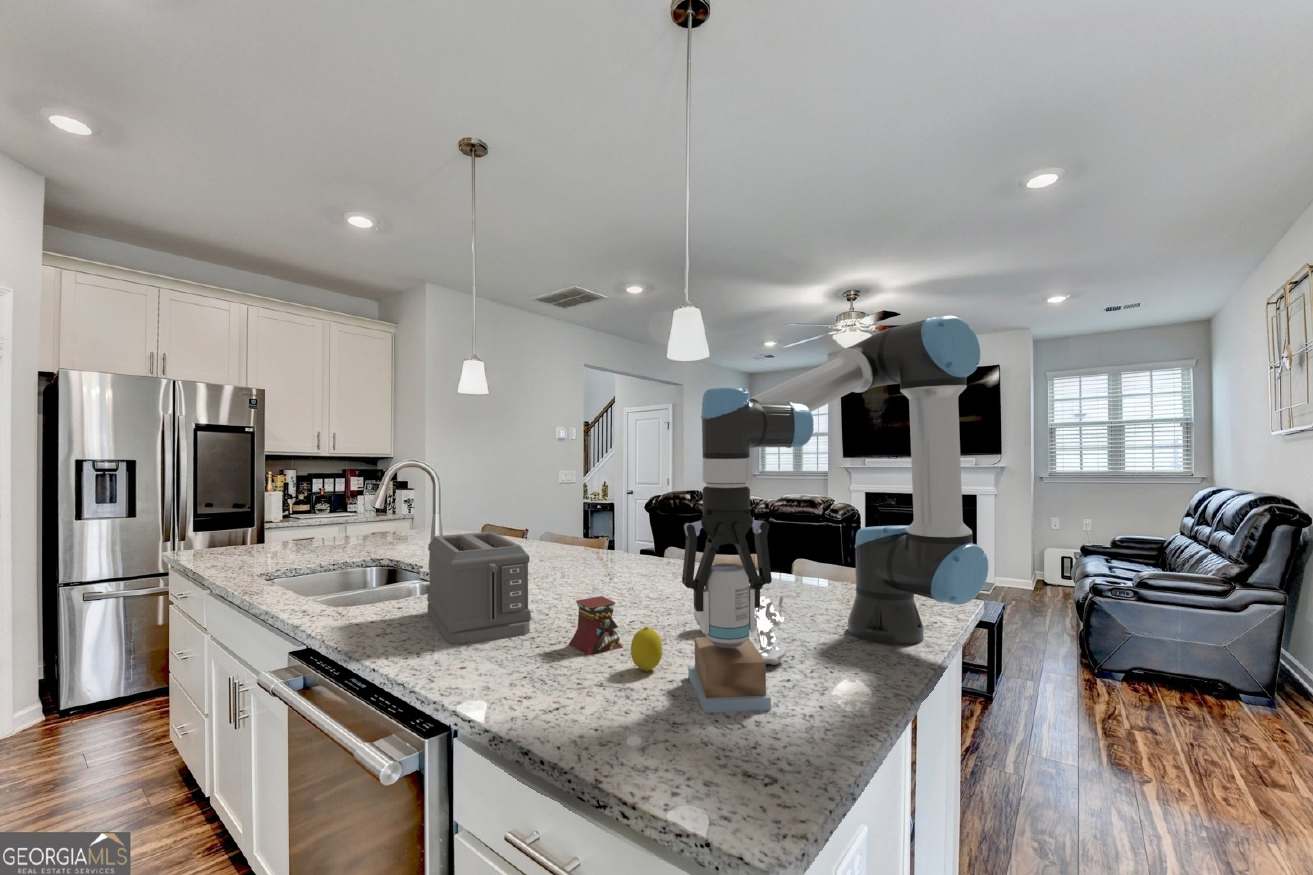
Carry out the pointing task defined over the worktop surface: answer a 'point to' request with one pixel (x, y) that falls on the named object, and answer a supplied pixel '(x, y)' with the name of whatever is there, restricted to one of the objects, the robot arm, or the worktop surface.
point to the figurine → (769, 631)
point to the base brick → (726, 699)
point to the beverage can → (728, 605)
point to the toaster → (478, 587)
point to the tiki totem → (595, 627)
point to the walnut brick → (730, 669)
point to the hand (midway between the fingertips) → (727, 629)
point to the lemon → (646, 649)
